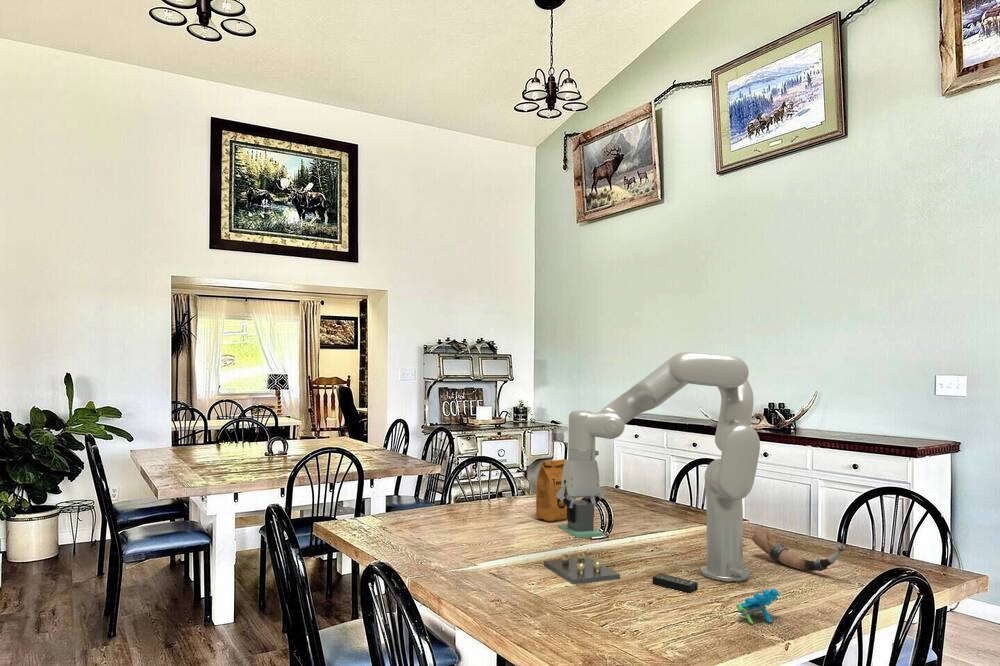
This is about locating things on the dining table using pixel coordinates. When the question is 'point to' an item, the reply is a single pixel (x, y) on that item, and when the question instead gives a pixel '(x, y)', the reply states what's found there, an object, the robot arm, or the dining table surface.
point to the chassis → (581, 569)
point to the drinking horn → (784, 556)
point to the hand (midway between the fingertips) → (580, 520)
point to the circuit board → (581, 534)
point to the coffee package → (550, 491)
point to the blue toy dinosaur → (758, 604)
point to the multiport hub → (675, 583)
